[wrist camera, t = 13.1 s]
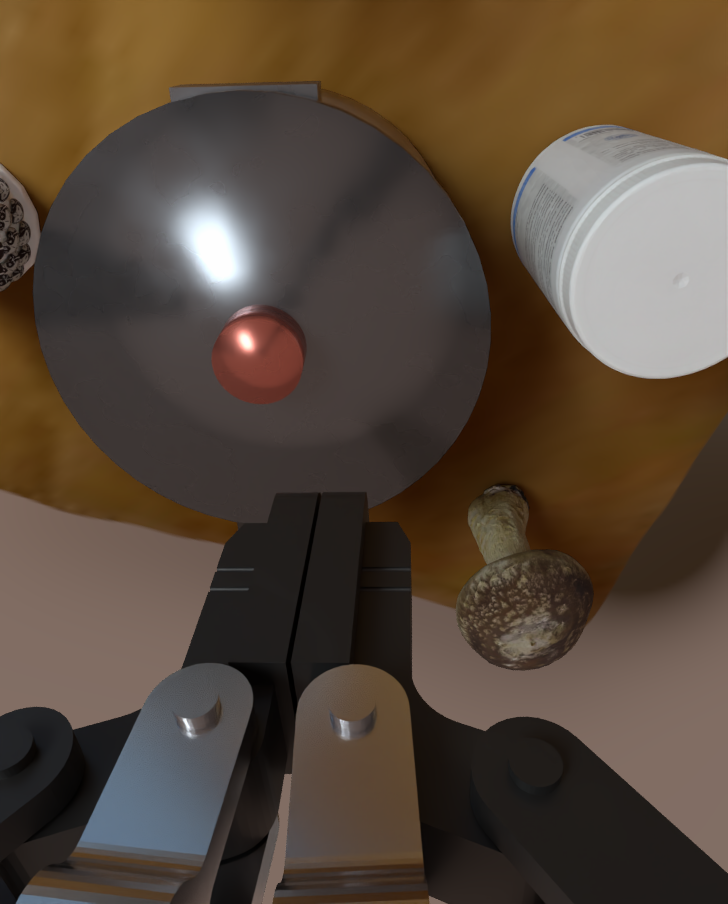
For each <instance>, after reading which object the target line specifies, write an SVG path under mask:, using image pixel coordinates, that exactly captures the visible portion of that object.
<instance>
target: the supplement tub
mask: <svg viewBox="0 0 728 904" xmlns="http://www.w3.org/2000/svg"><path fill="white" fill-rule="evenodd" d="M511 232H512V238H513V243H514V246H515V249H516V252H517V254H518V256H519V258H520V260H521V262H522V263H523V265H524V266H525V267H526V269H527V271H528V272H529V273H530V275H531V276H532V278H533V279H534V281H535V282H536V284H537V285H538V287H539V288H540V289H541V291H542V292H543V294H544V295H545V297H546V298H547V300H548V301H549V302H550V304H551V305H552V307H553V308H554V310H555V311H556V313H557V314H558V315H559V317H560V318H561V320H562V321H563V322H564V324H565V325H566V327H567V328H568V329H569V331H570V332H571V333H572V335H573V336H574V337H575V338H576V339H577V341H578V342H579V343H580V344H581V345H582V346H583V347H584V348H586V349H587V350H588V351H589V352H591V353H592V354H593V355H594V356H595V357H596V358H597V359H599V360H600V361H601V362H602V363H604V364H605V365H607V366H609V367H610V368H612V369H614V370H617V371H619V372H621V373H624V374H627V375H630V376H635V377H640V378H648V379H666V378H674V377H680V376H684V375H688V374H692V373H695V372H698V371H700V370H703V369H706V368H708V367H710V366H712V365H714V364H717V363H718V362H720V361H722V360H724V359H725V358H727V357H728V160H727V159H725V158H721V157H718V156H715V155H712V154H709V153H707V152H703V151H700V150H697V149H693V148H690V147H687V146H683V145H680V144H677V143H674V142H671V141H667V140H664V139H661V138H657V137H654V136H650V135H647V134H644V133H641V132H638V131H634V130H631V129H627V128H624V127H621V126H615V125H597V126H589V127H586V128H582V129H578V130H576V131H573V132H571V133H569V134H567V135H565V136H563V137H561V138H559V139H558V140H556V141H555V142H553V143H552V144H551V145H549V146H548V147H547V148H546V149H545V150H544V151H542V152H541V153H540V154H539V156H538V157H537V158H536V159H535V160H534V161H533V163H532V164H531V165H530V167H529V168H528V170H527V171H526V173H525V175H524V176H523V178H522V180H521V182H520V184H519V187H518V189H517V192H516V194H515V198H514V201H513V206H512V212H511Z"/></svg>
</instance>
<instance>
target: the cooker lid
mask: <svg viewBox="0 0 728 904" xmlns="http://www.w3.org/2000/svg"><path fill="white" fill-rule="evenodd" d="M33 301H34V313H35V323H36V327H37V332H38V336H39V341H40V345H41V350H42V353H43V355H44V358H45V361H46V364H47V366H48V369H49V372H50V375H51V377H52V379H53V381H54V383H55V385H56V387H57V389H58V391H59V393H60V395H61V397H62V399H63V401H64V402H65V404H66V405H67V407H68V408H69V410H70V411H71V413H72V415H73V416H74V418H75V419H76V421H77V422H78V424H79V425H80V426H81V427H82V428H83V430H84V431H85V432H86V433H87V434H88V436H89V437H90V438H91V439H92V440H93V442H94V443H95V444H96V445H97V446H98V447H99V448H100V449H101V450H102V451H103V452H104V453H105V454H106V455H107V456H108V457H109V458H110V459H111V460H112V461H113V462H115V463H116V464H117V465H118V466H119V467H121V468H122V469H123V470H124V471H126V472H127V473H128V474H130V475H131V476H132V477H134V478H135V479H136V480H137V481H139V482H141V483H142V484H144V485H145V486H147V487H149V488H150V489H152V490H154V491H155V492H157V493H158V494H160V495H162V496H164V497H166V498H168V499H170V500H172V501H174V502H176V503H178V504H180V505H183V506H185V507H188V508H190V509H193V510H196V511H199V512H201V513H204V514H207V515H210V516H214V517H218V518H222V519H226V520H230V521H234V522H237V523H238V530H239V529H240V528H241V527H242V526H243V524H244V523H267V521H268V518H269V514H270V511H271V507H272V504H273V500H274V497H275V495H276V493H298V492H320V493H321V495H322V493H323V492H367V499H368V509H369V508H372V507H374V506H377V505H379V504H381V503H383V502H384V501H386V500H388V499H390V498H392V497H393V496H395V495H397V494H399V493H401V492H402V491H403V490H405V489H406V488H408V487H409V486H410V485H412V484H413V483H414V482H416V481H417V480H419V479H420V478H421V477H422V476H423V475H424V474H425V473H426V472H428V471H429V470H430V469H431V468H432V467H433V466H434V465H435V464H436V463H437V462H438V461H439V460H440V459H441V458H442V456H443V455H444V454H445V453H446V452H447V450H448V449H449V448H450V447H451V446H452V444H453V443H454V442H455V440H456V439H457V437H458V436H459V434H460V432H461V431H462V429H463V428H464V426H465V424H466V423H467V421H468V419H469V417H470V415H471V413H472V411H473V408H474V406H475V404H476V402H477V399H478V397H479V394H480V391H481V388H482V384H483V381H484V377H485V374H486V371H487V364H488V357H489V351H490V344H491V312H490V304H489V297H488V289H487V284H486V280H485V276H484V273H483V269H482V266H481V262H480V258H479V255H478V253H477V250H476V248H475V246H474V243H473V241H472V239H471V237H470V234H469V232H468V230H467V227H466V225H465V223H464V221H463V219H462V217H461V216H460V214H459V212H458V211H457V209H456V207H455V206H454V204H453V202H452V201H451V199H450V197H449V196H448V194H447V193H446V191H445V190H444V189H443V188H442V186H441V185H440V184H439V183H438V182H437V180H436V179H435V178H434V177H433V175H432V174H431V173H430V172H429V170H428V169H427V168H426V167H425V166H424V165H423V164H422V163H421V162H420V161H419V160H418V159H416V158H415V157H414V156H413V155H412V154H411V153H410V152H409V151H408V150H407V149H406V148H405V147H404V146H403V145H402V144H400V143H399V142H397V141H396V140H394V139H393V138H392V137H390V136H389V135H387V134H386V133H385V132H383V131H382V130H380V129H379V128H377V127H376V126H375V125H373V124H371V123H369V122H367V121H365V120H363V119H361V118H359V117H358V116H356V115H354V114H352V113H350V112H348V111H346V110H344V109H342V108H339V107H336V106H333V105H330V104H327V103H325V102H322V101H319V100H316V99H313V98H310V97H305V96H300V95H295V94H290V93H285V92H280V91H270V90H250V89H238V90H228V91H218V92H208V93H204V94H200V95H197V96H193V97H189V98H185V99H181V100H177V101H174V102H171V103H168V104H165V105H163V106H161V107H158V108H156V109H154V110H151V111H149V112H147V113H145V114H142V115H140V116H138V117H136V118H134V119H133V120H131V121H130V122H128V123H127V124H125V125H123V126H122V127H120V128H119V129H117V130H116V131H114V132H113V133H111V134H109V135H108V136H107V137H106V138H105V139H104V140H103V141H102V142H101V143H99V144H98V145H97V146H96V147H95V148H94V149H93V150H92V151H91V152H89V153H88V154H87V155H86V156H85V157H84V159H83V160H82V161H81V162H80V164H79V165H78V166H77V167H76V169H75V170H74V171H73V172H72V174H71V175H70V176H69V177H68V179H67V180H66V181H65V183H64V185H63V187H62V188H61V190H60V192H59V194H58V195H57V197H56V199H55V201H54V202H53V204H52V206H51V208H50V211H49V214H48V216H47V219H46V222H45V224H44V227H43V230H42V232H41V235H40V240H39V245H38V250H37V254H36V259H35V265H34V282H33Z"/></svg>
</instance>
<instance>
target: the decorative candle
mask: <svg viewBox="0 0 728 904" xmlns="http://www.w3.org/2000/svg"><path fill="white" fill-rule="evenodd" d="M40 235H41V234H40V227H39V220H38V213H37V211H36V209H35V207H34V205H33V203H32V201H31V200H30V198H29V196H28V194H27V192H26V190H25V188H24V186H23V185H22V184H21V183H20V182H19V181H18V180H17V179H16V178H15V177H14V176H13V175H12V174H11V173H10V172H9V171H8V170H7V169H6V168H5V167H4V166H3V165H2V164H1V163H0V291H3V290H5V289H7V288H8V287H9V286H10V283H11V282H13V281H16V280H18V279H19V278H20V277H21V276H22V275H23V274H24V273H25V272H26V271H27V270H28V269H29V268H30V267H31V266H32V265H33V264H34V263H35V259H36V254H37V250H38V245H39V240H40Z"/></svg>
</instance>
